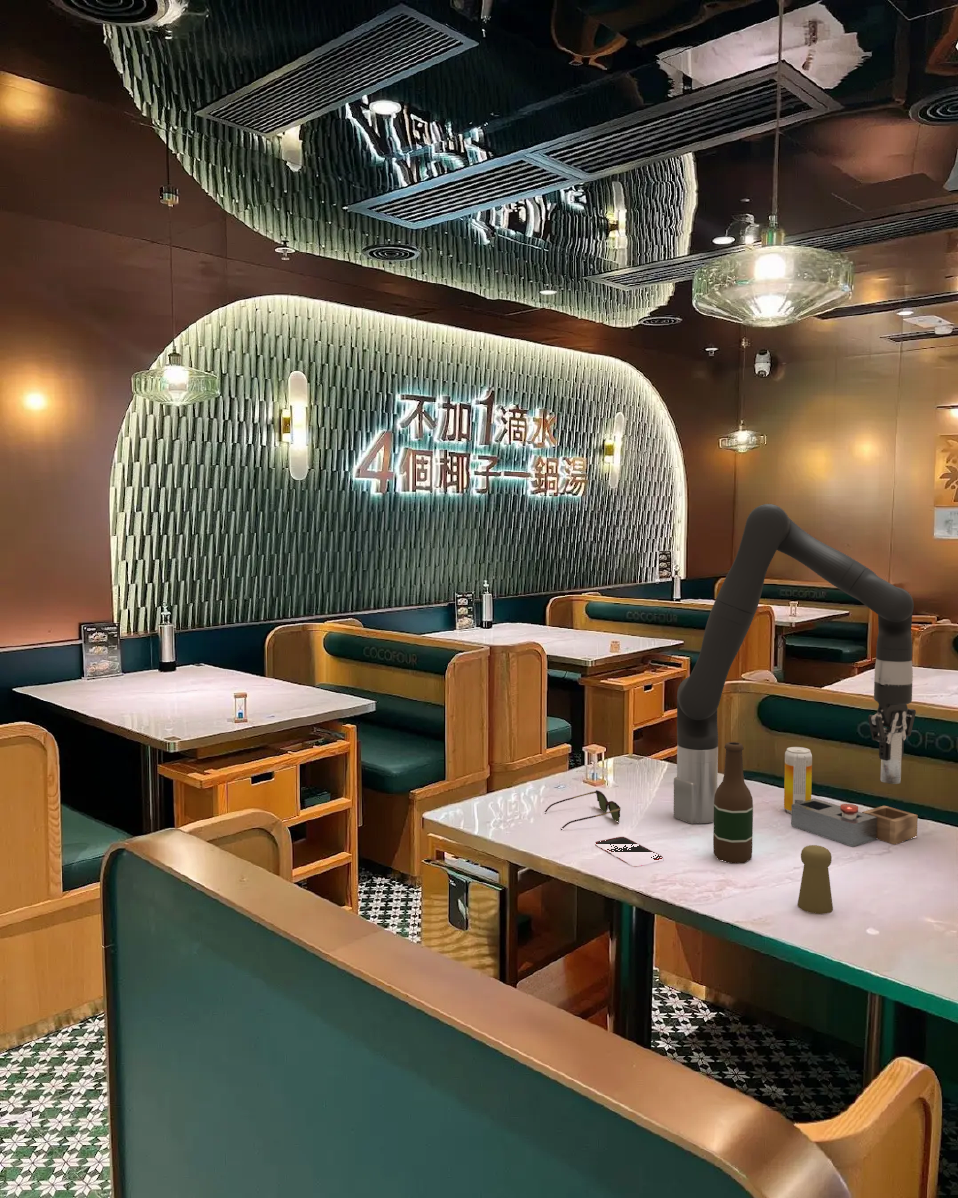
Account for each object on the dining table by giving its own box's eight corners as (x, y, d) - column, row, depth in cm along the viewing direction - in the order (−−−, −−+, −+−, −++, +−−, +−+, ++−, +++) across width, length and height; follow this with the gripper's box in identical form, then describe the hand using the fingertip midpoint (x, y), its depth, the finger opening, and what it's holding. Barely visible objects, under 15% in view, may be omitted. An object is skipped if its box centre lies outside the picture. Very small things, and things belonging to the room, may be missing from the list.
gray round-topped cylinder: (893, 785, 197) (894, 734, 196) (876, 780, 200) (878, 731, 199) (904, 782, 199) (906, 732, 198) (887, 777, 202) (889, 728, 201)
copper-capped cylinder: (850, 837, 197) (851, 810, 196) (836, 832, 200) (836, 805, 199) (861, 834, 199) (861, 807, 198) (846, 829, 202) (847, 802, 201)
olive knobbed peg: (791, 900, 167) (792, 842, 166) (823, 899, 168) (824, 841, 167) (806, 914, 161) (807, 854, 160) (839, 913, 162) (840, 852, 161)
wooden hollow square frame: (894, 844, 195) (895, 821, 194) (861, 834, 202) (862, 811, 201) (916, 837, 199) (917, 815, 199) (883, 827, 206) (884, 805, 205)
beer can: (807, 807, 220) (808, 746, 219) (813, 816, 214) (815, 753, 213) (781, 807, 221) (782, 746, 219) (787, 815, 215) (788, 752, 213)
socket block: (852, 847, 194) (853, 824, 193) (791, 826, 207) (791, 804, 207) (876, 839, 198) (876, 817, 198) (814, 819, 212) (814, 798, 211)
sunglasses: (622, 827, 209) (620, 806, 208) (561, 839, 205) (559, 817, 205) (598, 808, 223) (596, 788, 222) (540, 819, 219) (539, 798, 219)
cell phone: (623, 840, 201) (623, 836, 201) (665, 862, 187) (665, 857, 187) (593, 846, 197) (593, 841, 197) (634, 869, 184) (634, 864, 184)
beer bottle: (753, 852, 191) (754, 740, 189) (751, 866, 184) (753, 749, 182) (714, 848, 194) (716, 737, 192) (711, 861, 186) (712, 746, 184)
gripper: (897, 674, 204) (895, 749, 206) (857, 681, 197) (855, 759, 198) (929, 679, 198) (926, 757, 199) (888, 686, 190) (886, 767, 192)
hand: (891, 757), depth 199 cm, fingers closed on gray round-topped cylinder, 4 cm apart
